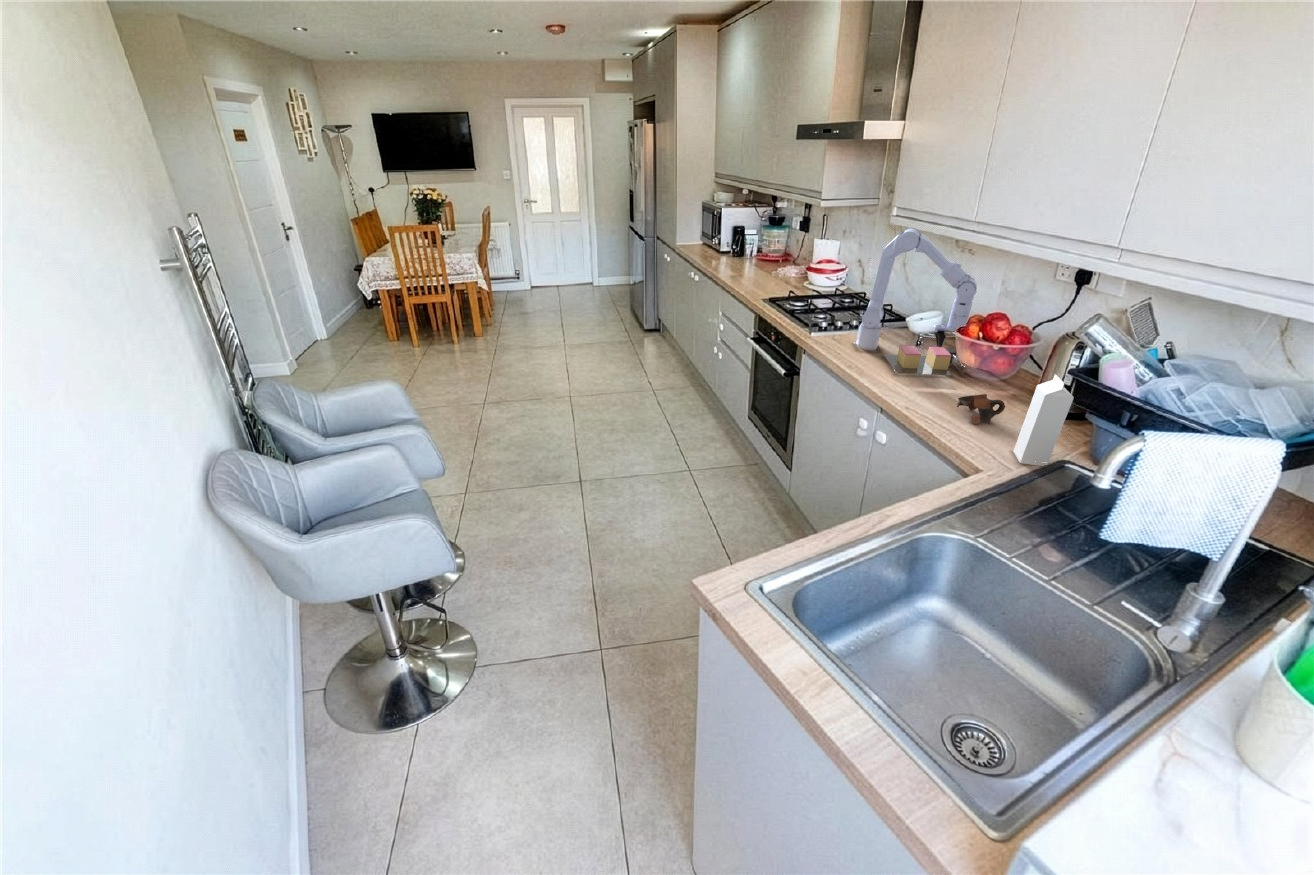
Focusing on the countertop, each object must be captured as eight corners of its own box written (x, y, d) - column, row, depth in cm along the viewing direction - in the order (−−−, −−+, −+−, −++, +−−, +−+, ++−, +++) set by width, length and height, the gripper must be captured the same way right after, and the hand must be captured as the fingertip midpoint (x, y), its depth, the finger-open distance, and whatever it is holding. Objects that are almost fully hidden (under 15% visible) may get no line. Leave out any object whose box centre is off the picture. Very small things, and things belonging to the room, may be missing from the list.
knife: (941, 358, 204) (944, 347, 202) (948, 358, 204) (951, 347, 202) (958, 376, 189) (961, 365, 187) (966, 376, 189) (969, 365, 187)
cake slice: (925, 360, 199) (928, 346, 197) (939, 361, 199) (943, 347, 196) (932, 369, 192) (936, 354, 190) (947, 369, 192) (951, 355, 189)
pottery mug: (961, 425, 159) (958, 396, 159) (955, 425, 168) (952, 398, 168) (1010, 420, 155) (1006, 390, 155) (1001, 420, 164) (998, 392, 164)
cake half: (896, 359, 200) (899, 345, 198) (911, 360, 200) (914, 346, 197) (902, 368, 193) (906, 353, 191) (917, 368, 193) (921, 354, 190)
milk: (1038, 455, 144) (1069, 375, 133) (1046, 467, 139) (1080, 384, 128) (1012, 451, 145) (1041, 372, 134) (1019, 463, 140) (1050, 382, 129)
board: (882, 356, 205) (883, 354, 205) (934, 358, 204) (934, 356, 203) (895, 375, 190) (896, 373, 189) (951, 377, 188) (952, 375, 188)
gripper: (941, 317, 191) (932, 354, 197) (986, 318, 189) (975, 356, 196) (934, 311, 197) (925, 347, 203) (978, 312, 195) (967, 349, 202)
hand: (949, 351), depth 200 cm, fingers open, 7 cm apart
